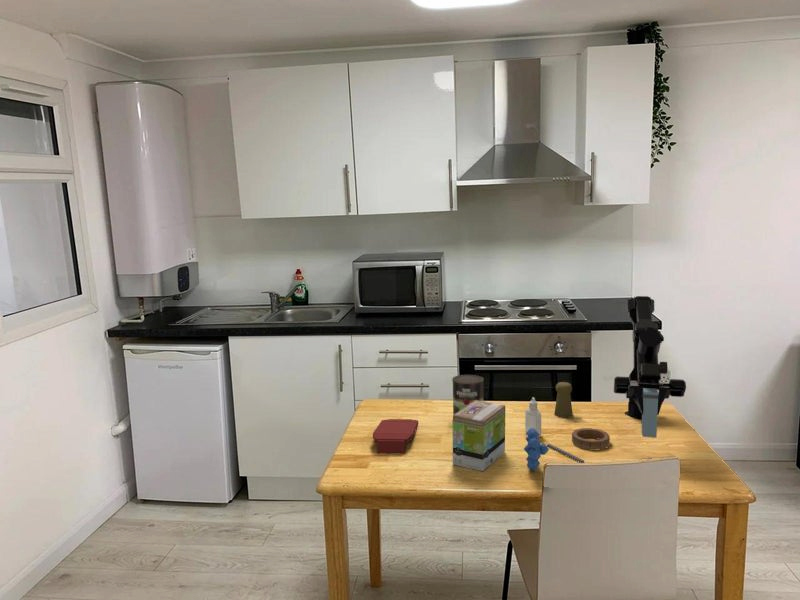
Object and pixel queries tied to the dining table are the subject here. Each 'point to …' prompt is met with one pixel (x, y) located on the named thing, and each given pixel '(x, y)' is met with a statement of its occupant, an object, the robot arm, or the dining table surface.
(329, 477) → the dining table surface
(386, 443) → the red lunch box
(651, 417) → the blue-gray square peg
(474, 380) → the coffee can
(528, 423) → the eye dropper bottle
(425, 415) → the dining table surface
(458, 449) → the tea box
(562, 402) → the cork
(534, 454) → the grapes
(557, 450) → the thin gray square rod
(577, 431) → the bead ring
